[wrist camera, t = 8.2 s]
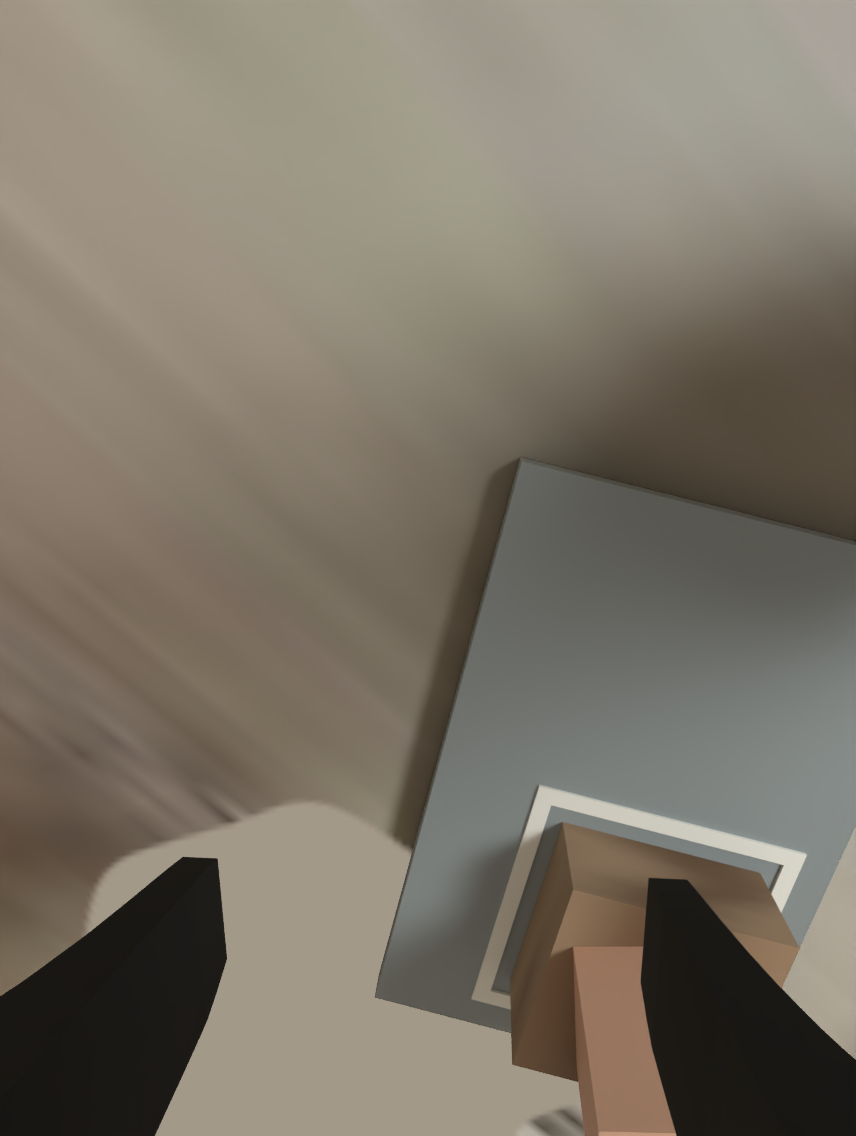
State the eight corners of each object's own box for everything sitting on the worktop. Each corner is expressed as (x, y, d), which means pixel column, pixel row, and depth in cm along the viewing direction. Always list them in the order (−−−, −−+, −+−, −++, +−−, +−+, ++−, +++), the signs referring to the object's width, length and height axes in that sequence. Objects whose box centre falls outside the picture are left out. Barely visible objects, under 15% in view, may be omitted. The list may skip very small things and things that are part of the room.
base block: (759, 872, 22) (799, 948, 19) (693, 1028, 24) (720, 1119, 21) (562, 821, 22) (573, 889, 20) (509, 980, 24) (512, 1064, 21)
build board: (948, 564, 21) (974, 575, 19) (724, 1063, 25) (734, 1094, 24) (520, 456, 21) (521, 462, 20) (379, 973, 26) (374, 999, 25)
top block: (728, 946, 20) (806, 1136, 15) (725, 1069, 21) (795, 1283, 16) (573, 946, 20) (598, 1131, 15) (576, 1066, 21) (601, 1275, 16)
